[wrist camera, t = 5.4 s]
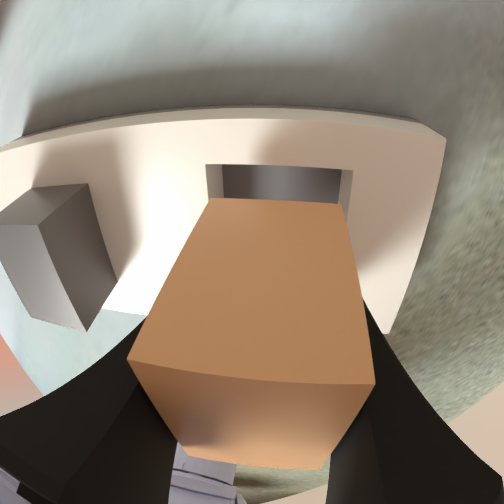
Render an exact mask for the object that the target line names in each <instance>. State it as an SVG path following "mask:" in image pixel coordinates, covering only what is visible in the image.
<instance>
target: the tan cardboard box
mask: <svg viewBox="0 0 504 504" xmlns="http://www.w3.org/2000/svg"><path fill="white" fill-rule="evenodd" d="M127 360H128V362H129V364H130V366H131V368H132V370H133V371H134V373H135V375H136V377H137V378H138V380H139V382H140V383H141V385H142V387H143V389H144V390H145V392H146V394H147V395H148V397H149V398H150V400H151V402H152V403H153V405H154V406H155V408H156V410H157V411H158V413H159V414H160V416H161V417H162V419H163V420H164V422H165V423H166V425H167V426H168V428H169V429H170V431H171V432H172V434H173V435H174V437H175V438H176V439H177V441H178V442H179V444H180V445H181V446H182V448H183V449H184V451H185V452H186V453H187V455H188V456H192V457H197V458H203V459H208V460H214V461H220V462H226V463H233V464H241V465H249V466H258V467H269V468H283V469H306V470H319V469H320V468H321V467H322V465H323V464H324V463H325V461H326V460H327V458H328V457H329V456H330V454H331V453H332V452H333V450H334V449H335V447H336V446H337V444H338V443H339V442H340V440H341V439H342V437H343V436H344V434H345V433H346V431H347V430H348V428H349V427H350V425H351V424H352V422H353V420H354V419H355V417H356V416H357V414H358V413H359V411H360V409H361V408H362V406H363V404H364V403H365V401H366V399H367V398H368V396H369V394H370V393H371V391H372V389H373V387H374V386H375V376H374V368H373V360H372V353H371V346H370V340H369V333H368V327H367V321H366V315H365V309H364V304H363V298H362V293H361V288H360V283H359V278H358V273H357V268H356V264H355V259H354V255H353V250H352V246H351V241H350V237H349V233H348V229H347V225H346V221H345V217H344V213H343V209H342V205H341V204H333V203H319V202H302V201H284V200H262V199H235V198H210V200H209V201H208V203H207V205H206V207H205V208H204V210H203V212H202V214H201V215H200V217H199V219H198V221H197V223H196V224H195V226H194V228H193V230H192V231H191V233H190V235H189V237H188V239H187V241H186V242H185V244H184V246H183V248H182V250H181V252H180V253H179V255H178V257H177V259H176V261H175V263H174V265H173V267H172V268H171V270H170V272H169V274H168V276H167V278H166V280H165V282H164V284H163V286H162V288H161V290H160V292H159V294H158V295H157V297H156V299H155V301H154V303H153V305H152V307H151V309H150V311H149V313H148V315H147V317H146V319H145V322H144V324H143V326H142V328H141V330H140V332H139V334H138V336H137V338H136V340H135V342H134V344H133V346H132V349H131V351H130V353H129V355H128V357H127Z"/></svg>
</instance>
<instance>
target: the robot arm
mask: <svg viewBox="0 0 504 504" xmlns="http://www.w3.org/2000/svg"><path fill="white" fill-rule="evenodd" d="M362 298H363V297H362ZM363 304H364V309H365V315H366V321H367V327H368V333H369V340H370V346H371V353H372V360H373V368H374V376H375V386H374V387H373V389H372V391H371V393H370V394H369V396H368V398H367V399H366V401H365V403H364V404H363V406H362V408H361V409H360V411H359V413H358V414H357V416H356V417H355V419H354V420H353V422H352V424H351V425H350V427H349V428H348V430H347V431H346V433H345V434H344V436H343V437H342V439H341V440H340V442H339V443H338V444H337V446H336V447H335V449H334V450H333V452H332V453H331V461H330V472H329V481H328V490H327V498H326V504H504V487H503V481H502V477H501V476H500V475H499V474H498V473H497V472H496V471H494V470H493V469H492V468H491V467H490V466H489V465H487V464H486V463H485V462H484V461H482V460H481V459H480V458H479V457H478V456H477V455H476V454H474V452H473V451H472V450H470V448H469V447H468V446H467V445H466V444H465V443H464V442H463V441H462V440H460V438H459V437H458V436H457V435H456V434H455V433H454V432H453V431H452V429H451V428H450V427H449V426H448V425H447V424H446V423H445V422H444V421H443V419H442V418H441V417H440V416H439V415H438V414H437V412H436V411H435V410H434V409H433V407H432V406H431V405H430V404H429V402H428V401H427V400H426V399H425V397H424V396H423V395H422V393H421V392H420V391H419V389H418V388H417V387H416V385H415V384H414V382H413V381H412V380H411V378H410V377H409V375H408V374H407V372H406V371H405V369H404V368H403V366H402V365H401V363H400V362H399V360H398V358H397V357H396V355H395V354H394V352H393V350H392V349H391V347H390V345H389V344H388V342H387V340H386V339H385V337H384V335H383V334H382V332H381V330H380V329H379V327H378V325H377V323H376V321H375V320H374V318H373V316H372V314H371V312H370V311H369V309H368V307H367V305H366V303H365V301H364V299H363ZM145 319H146V318H145ZM145 319H144V320H143V321H142V322H141V323H140V324H139V325H138V326H137V327H136V328H135V329H134V330H133V331H132V332H130V333H129V334H128V335H127V336H126V337H125V338H124V339H123V340H122V341H121V342H120V343H118V344H117V345H116V346H115V347H114V348H113V349H112V350H110V351H109V352H108V353H107V354H106V355H105V356H103V357H102V358H101V359H100V360H98V361H97V362H96V363H94V364H93V365H92V366H91V367H89V368H88V369H86V370H85V371H84V372H82V373H81V374H79V375H78V376H76V377H75V378H73V379H72V380H70V381H69V382H67V383H66V384H64V385H63V386H61V387H60V388H58V389H56V390H55V391H53V392H51V393H49V394H48V395H46V396H44V397H42V398H40V399H38V400H36V401H35V402H33V403H31V404H29V405H26V406H24V407H22V408H20V409H17V410H15V411H13V412H11V413H8V414H6V415H3V416H1V417H0V504H247V503H246V501H245V500H244V499H243V496H242V495H241V494H236V492H237V487H236V486H233V482H234V476H235V471H236V465H237V464H233V463H226V462H220V461H214V460H208V459H203V458H197V457H192V456H188V455H187V453H186V452H185V451H184V449H183V448H182V446H181V445H180V444H179V442H178V441H177V439H176V438H175V437H174V435H173V434H172V432H171V431H170V429H169V428H168V426H167V425H166V423H165V422H164V420H163V419H162V417H161V416H160V414H159V413H158V411H157V410H156V408H155V406H154V405H153V403H152V402H151V400H150V398H149V397H148V395H147V394H146V392H145V390H144V389H143V387H142V385H141V383H140V382H139V380H138V378H137V377H136V375H135V373H134V371H133V370H132V368H131V366H130V364H129V362H128V360H127V357H128V355H129V353H130V351H131V349H132V346H133V344H134V342H135V340H136V338H137V336H138V334H139V332H140V330H141V328H142V326H143V324H144V322H145Z"/></svg>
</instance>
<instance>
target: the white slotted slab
mask: <svg viewBox="0 0 504 504" xmlns="http://www.w3.org/2000/svg"><path fill="white" fill-rule="evenodd" d="M446 141H447V139H446V138H444V137H443V136H441V135H440V134H438V133H437V132H435V131H433V130H432V129H430V128H428V127H427V126H425V125H423V124H422V123H420V122H418V121H417V120H415V119H411V118H405V117H399V116H393V115H387V114H380V113H373V112H365V111H357V110H348V109H338V108H326V107H312V106H294V105H215V106H197V107H183V108H171V109H161V110H152V111H144V112H136V113H129V114H122V115H116V116H110V117H104V118H98V119H93V120H88V121H83V122H78V123H73V124H68V125H64V126H60V127H55V128H51V129H47V130H43V131H40V132H36V133H32V134H29V135H25V136H22V137H19V138H17V139H16V140H14V141H12V142H10V143H8V144H6V145H4V146H2V147H0V261H1V263H2V265H3V267H4V269H5V271H6V273H7V275H8V277H9V279H10V281H11V283H12V285H13V287H14V288H15V290H16V292H17V294H18V296H19V298H20V299H21V301H22V303H23V305H24V306H25V308H26V310H27V311H28V313H29V315H30V316H31V317H32V318H36V319H39V320H43V321H46V322H50V323H53V324H57V325H61V326H64V327H68V328H72V329H76V330H80V331H84V332H87V331H88V329H89V327H90V326H91V324H92V322H93V321H94V319H95V317H96V316H97V314H98V313H99V311H100V309H101V308H104V309H110V310H116V311H122V312H128V313H134V314H141V315H148V313H149V311H150V309H151V307H152V305H153V303H154V301H155V299H156V297H157V295H158V294H159V292H160V290H161V288H162V286H163V284H164V282H165V280H166V278H167V276H168V274H169V272H170V270H171V268H172V267H173V265H174V263H175V261H176V259H177V257H178V255H179V253H180V252H181V250H182V248H183V246H184V244H185V242H186V241H187V239H188V237H189V235H190V233H191V231H192V230H193V228H194V226H195V224H196V223H197V221H198V219H199V217H200V215H201V214H202V212H203V210H204V208H205V207H206V205H207V203H208V201H209V200H210V198H235V199H262V200H284V201H302V202H319V203H333V204H341V205H342V209H343V213H344V217H345V221H346V225H347V229H348V233H349V237H350V241H351V246H352V250H353V255H354V259H355V264H356V268H357V273H358V278H359V283H360V288H361V293H362V297H363V299H364V301H365V303H366V305H367V307H368V309H369V311H370V312H371V314H372V316H373V318H374V320H375V321H376V323H377V325H378V327H379V329H380V330H381V332H382V334H389V332H390V330H391V327H392V325H393V323H394V320H395V318H396V315H397V313H398V310H399V308H400V305H401V303H402V300H403V298H404V295H405V292H406V290H407V287H408V284H409V282H410V279H411V276H412V273H413V270H414V267H415V264H416V261H417V258H418V255H419V252H420V249H421V246H422V242H423V239H424V236H425V232H426V229H427V225H428V222H429V218H430V215H431V211H432V207H433V203H434V199H435V195H436V191H437V186H438V182H439V177H440V173H441V168H442V163H443V158H444V152H445V147H446Z"/></svg>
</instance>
